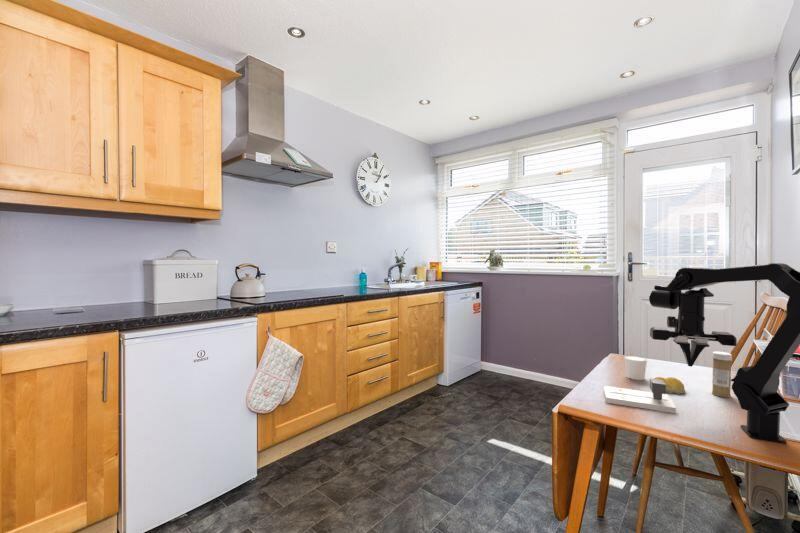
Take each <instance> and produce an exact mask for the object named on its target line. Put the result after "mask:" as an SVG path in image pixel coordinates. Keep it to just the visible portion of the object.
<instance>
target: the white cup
mask: <svg viewBox="0 0 800 533" xmlns="http://www.w3.org/2000/svg"><path fill="white" fill-rule="evenodd" d="M647 362H648V360H647V358H643V357H641V356H636V355H635V356H633V355H625V356H624V367H625V368H624V369H625V377H626V376H627V377H626V378H628V379H630V378H631V379H630V380H634V379H635V380H637V381H643V380H645V378H646V372H647V371H646V368H647Z"/></svg>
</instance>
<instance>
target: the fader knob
mask: <svg viewBox="0 0 800 533" xmlns="http://www.w3.org/2000/svg"><path fill="white" fill-rule="evenodd" d="M649 389H650V392H652V393H653V398H656V399H662V394H666V393H667V392H666V384H665V383H664V381H663V380H658V379H654V378H649Z"/></svg>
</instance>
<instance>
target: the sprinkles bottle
mask: <svg viewBox="0 0 800 533" xmlns="http://www.w3.org/2000/svg"><path fill="white" fill-rule="evenodd" d="M711 356H712V381H711V384H712V388H711V389H712V391H711V394H712V395H714V396H718V397H719V398H720V397H721V398H731V396H732V395H731V387H732V381H731V379H732V377H731V376H732V375H731V374H732V369H731V368H732V360H733V355H732V354H731V353H730V352H727V351H717V350H716V351H712V355H711Z"/></svg>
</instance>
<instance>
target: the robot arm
mask: <svg viewBox="0 0 800 533" xmlns="http://www.w3.org/2000/svg"><path fill="white" fill-rule="evenodd" d="M749 281H752V282H753V281H769V282H771V284H773V285H774V286H775V287H776V288H777V289H778V290H779V292H782V293H783V294H784V295H786V296H788V300H787V302H786V313H785V315H786V316H785V318H784V319H783V321H782V323H781V324H780V325H779V327H778V329H777V330H776V331H775V333H774V335H773V336H772V337H771V340H770V341H769V343H768V344H767V346H766V347H765V349H764V350H763V352H762V353H761V355H760V356H759V358H758V359H757V361H756V362H755V364H754V365H749V366H744V367H739V368H738V370H737V371H736V374H735V376H734V377H733V378H731V382H732V383H731V390H732V392H733V394H734V395H735V396H736V398H737V400H738V403H739V406H740V408H741V409H742V410H745V411H746V425H745V424H740V428H741V429H742V430H743V431H744V432H745V433H746V434H747V435H748V436H749V437H750V438H753V439H760V440H764V441H770V442H771V441H772V442H777V443H783V444H787V442H788V441H787V440H786V439H785V438H784V436H782V435H781V434H780V431H781V430H780V427H781V426H780V424H781V412H786V411H787V409H788V408H789V406H790V404H789V402H787V400H786V399H785V398H784V397H783V396H782V395H781V394H780V393H779V392H778V389H779V386H780V375H781V373H782V371H783V370H784V368H785V367H786V365H787V364H788V362H789V361H790V360H791V358H792V356H793V355H794V354H795V352H796V351H797V349H798V348H799V346H800V271H798V270H796V269H795V268H793V267H792V266H790V265H788V264H786V263H781V262H780V263H775V262H773V263H766V264H762V265H761V264H759V265H750V266H739V267H727V268H712V267H681V268H678V270H677V271H676V273H675V276H674V277H673V279H672V280H671V281H670V283H669V284H668V285H666V286H665V285H661V284H658V285H654V287H653V290H652V291H651V292H650V295H649V298H648V300H649V304H650V305H651V306H652V307H654V308H659V309H660V308H662V309H668V310H669V309H670V310H676V309H677V308H678V313H677V318H676V316H670V315H669V316H667V317H666V326H667V327H656V326H652V327H651V328H649V337H651V339H652V340H658V341H667V340H669V339H671V338H673V339H672V341H673V342H674V343H675V344H676V345H679V347H680V349H681V351H682V353H683V356H684V358H685V361H686V364H687V367H693V366H694V365H695V362H696V361H697V359H698V357H699V356H700V355H701V353H702V352H703V351H704V349H705V348H709V347H710V345H709V344H708V342H709V341H710V342H718V343H719V344H720V345H721V346H727V347H728V346H730V347H736V346H738V345H737V344H738V343H737V336H736V335H734V334H732V333H730V332H727V331H714V330H712V332H711V333H705V320H706V319H705V298H713V297H714V296H715V295H714V293H712V292H711V291H710V290H708V288H707V287H709V286H714V285H717V284H721V283H731V282H749ZM695 288H697V289H695ZM698 288H699V289H698ZM683 291H685V292H683ZM668 328H674V330H673V331H671V330H669V329H668ZM689 340H690V342H688V341H689Z"/></svg>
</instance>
